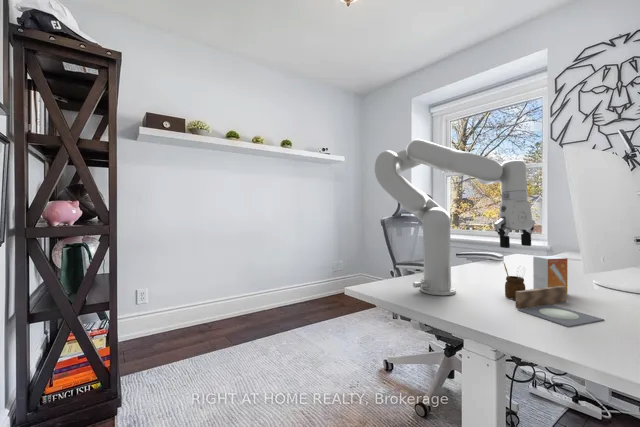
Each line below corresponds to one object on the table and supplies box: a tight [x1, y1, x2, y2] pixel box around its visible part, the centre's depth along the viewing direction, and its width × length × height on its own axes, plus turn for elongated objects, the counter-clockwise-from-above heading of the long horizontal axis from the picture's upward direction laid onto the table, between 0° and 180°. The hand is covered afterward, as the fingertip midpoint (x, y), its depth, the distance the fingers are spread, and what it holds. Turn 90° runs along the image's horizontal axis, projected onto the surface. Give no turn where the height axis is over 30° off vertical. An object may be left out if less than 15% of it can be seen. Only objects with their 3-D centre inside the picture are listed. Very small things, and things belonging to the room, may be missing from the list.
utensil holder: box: [503, 262, 526, 301], centre depth 103 cm, size 6×6×12 cm
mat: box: [517, 304, 605, 328], centre depth 86 cm, size 14×14×1 cm
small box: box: [532, 255, 568, 296], centre depth 108 cm, size 8×6×13 cm
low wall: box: [515, 286, 567, 309], centre depth 95 cm, size 20×2×5 cm, turn 107°
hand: (515, 246), depth 103 cm, fingers open, 9 cm apart
